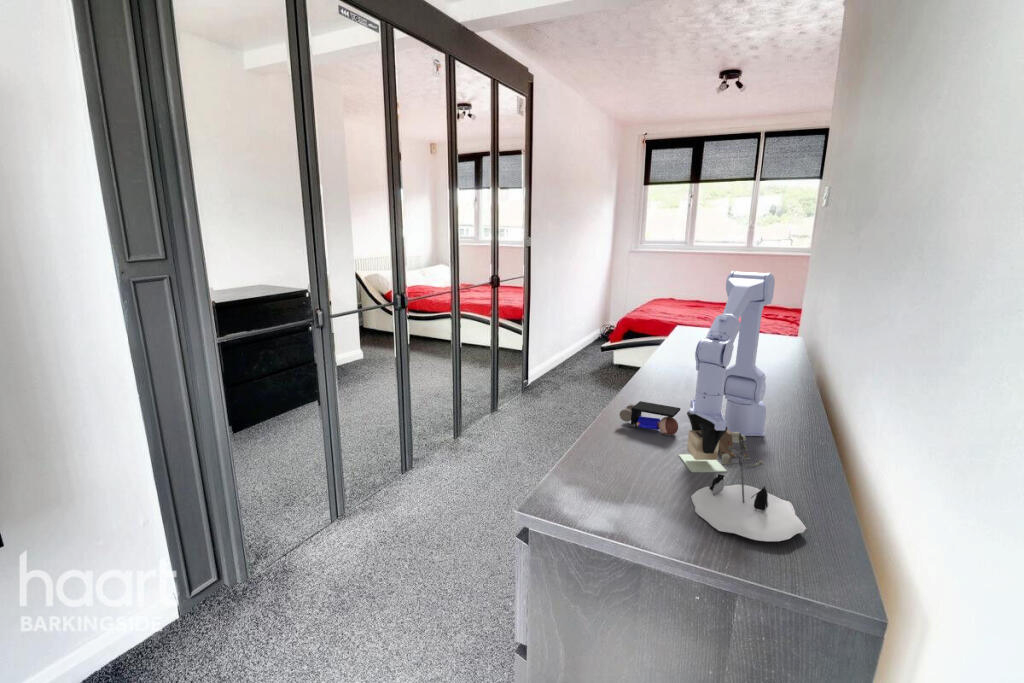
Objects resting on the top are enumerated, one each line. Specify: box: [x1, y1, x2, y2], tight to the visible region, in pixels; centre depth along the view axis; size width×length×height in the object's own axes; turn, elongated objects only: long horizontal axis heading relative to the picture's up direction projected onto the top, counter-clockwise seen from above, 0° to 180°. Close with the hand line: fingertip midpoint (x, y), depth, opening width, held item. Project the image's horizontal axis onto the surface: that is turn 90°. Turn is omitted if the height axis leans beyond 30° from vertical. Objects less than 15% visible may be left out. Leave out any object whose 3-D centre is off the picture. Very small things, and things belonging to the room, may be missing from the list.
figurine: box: [690, 432, 807, 542], centre depth 88 cm, size 20×18×16 cm
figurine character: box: [619, 400, 681, 437], centre depth 127 cm, size 7×8×15 cm
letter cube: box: [686, 429, 719, 461], centre depth 108 cm, size 5×5×5 cm
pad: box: [678, 453, 727, 473], centre depth 109 cm, size 8×8×1 cm
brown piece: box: [718, 428, 736, 458], centre depth 117 cm, size 3×12×6 cm, turn 0°
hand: (703, 447), depth 108 cm, fingers closed on letter cube, 5 cm apart
